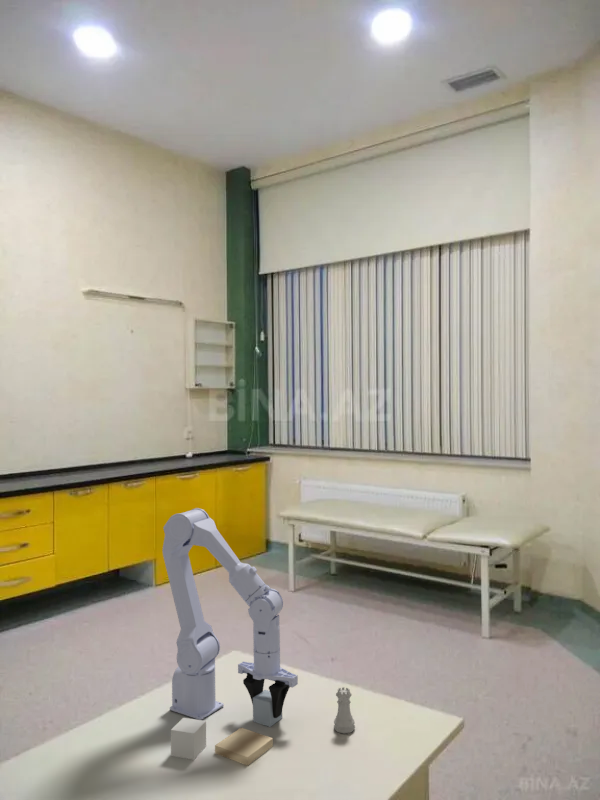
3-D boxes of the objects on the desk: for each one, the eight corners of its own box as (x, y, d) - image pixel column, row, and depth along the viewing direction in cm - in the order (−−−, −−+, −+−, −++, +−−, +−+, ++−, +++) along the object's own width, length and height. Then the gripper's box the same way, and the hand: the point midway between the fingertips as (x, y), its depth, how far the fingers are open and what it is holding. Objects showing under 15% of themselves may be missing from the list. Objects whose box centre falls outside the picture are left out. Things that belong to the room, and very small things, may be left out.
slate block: (253, 721, 129) (252, 697, 129) (265, 712, 133) (265, 689, 133) (270, 727, 127) (269, 702, 127) (282, 718, 130) (282, 694, 131)
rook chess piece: (353, 735, 123) (353, 695, 123) (332, 733, 124) (331, 693, 124) (356, 724, 127) (355, 686, 127) (335, 722, 128) (334, 684, 128)
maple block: (215, 755, 117) (215, 745, 117) (241, 737, 124) (241, 727, 124) (247, 768, 112) (247, 757, 113) (272, 748, 119) (272, 738, 119)
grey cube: (171, 756, 116) (170, 729, 116) (183, 743, 121) (183, 717, 121) (194, 760, 115) (194, 733, 115) (206, 746, 119) (205, 720, 120)
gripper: (228, 648, 131) (229, 712, 130) (284, 661, 123) (285, 729, 123) (248, 638, 137) (249, 699, 136) (302, 650, 129) (303, 715, 128)
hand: (267, 713), depth 130 cm, fingers closed on slate block, 4 cm apart
